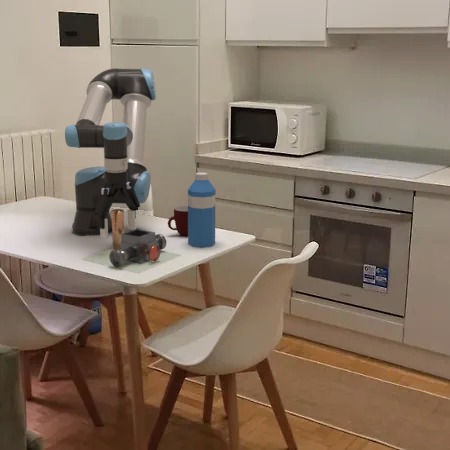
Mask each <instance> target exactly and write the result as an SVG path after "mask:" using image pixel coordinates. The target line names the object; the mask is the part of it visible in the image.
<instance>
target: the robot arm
mask: <svg viewBox="0 0 450 450" xmlns="http://www.w3.org/2000/svg"><path fill="white" fill-rule="evenodd" d="M156 92H157V91H156V83H155V76H154V73H153V71H152V69H149V68H148V69H147V68H141V67H140V68H109V69H106V70H103V71H102V72H100V73H98V74H97V75H96V76H94V77H93V78H92V79H91V81H90V82H89V83H88V85H87V87H86V98H85V100H84V103H83V105H82V108H81V111H80V113H79V116H78V118H77V121H76V123H75V124H74V123H73V124H68V125H67V126H66V127H65V131H64V141H65V143H66V146H67V147H70V148H78V149H79V148H80V149H81V148H87V149H88V148H93V149H94V148H96V149H97V148H98V149H99V148H100V149H103V162H104V163H103V164H104V166H102V165H101V166H99V165H98V166H91V167H86V168H82V169H80V170H78V171H76V172H75V175H74V188H75V189H74V193H75V207H76V209H75V211H76V212H75V215H74V218H73V223H72V226H71V229H72V233H73V234H75V235H79V236H100V238H102V239H109V234H111V233H112V214H111V213H110V212H111V211H110V209H111V207H112V205H113V204H118V205H119V204H121V205H122V204H124V205H126V206H127V208H128V209H127V212H126V214H127V229H128V230H135V229H136V217H137V216H136V215H137V213H136V212H137V211H139V208H140V207H141V204H144V203H146V201H147V200H148V197H149V195H150V189H151V180H152V179H151V178H152V177H151V173H150V172H149V171H148V169H147V166H146V165H144V157H145V156H144V154H145V140H146V127H147V126H146V125H147V109H148V108H150V107H151V105H152V101H156V99H157V98H156V97H157V96H156V95H157V93H156ZM111 100H120V104H121V106H123V113H122V114H123V115H122V116H123V117H122V122H119V121H117V122H116V121H113V122H106V123H104V124H103V125H102V124H101V121H102V118H103V115H104V112H105V110H106V108H107V107H106V106H107V105H108V103H110V101H111ZM100 124H101V125H100Z"/></svg>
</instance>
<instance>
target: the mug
mask: <svg viewBox="0 0 450 450" xmlns="http://www.w3.org/2000/svg"><path fill="white" fill-rule="evenodd" d="M172 221H174V223H175V227H172ZM167 226H168V229H170V230H172V231H177V233H178V235H179V237H184V238H188V205H180V206H175V207H174V208H173V215H172V216H171V217H169V219H168V221H167Z"/></svg>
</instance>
